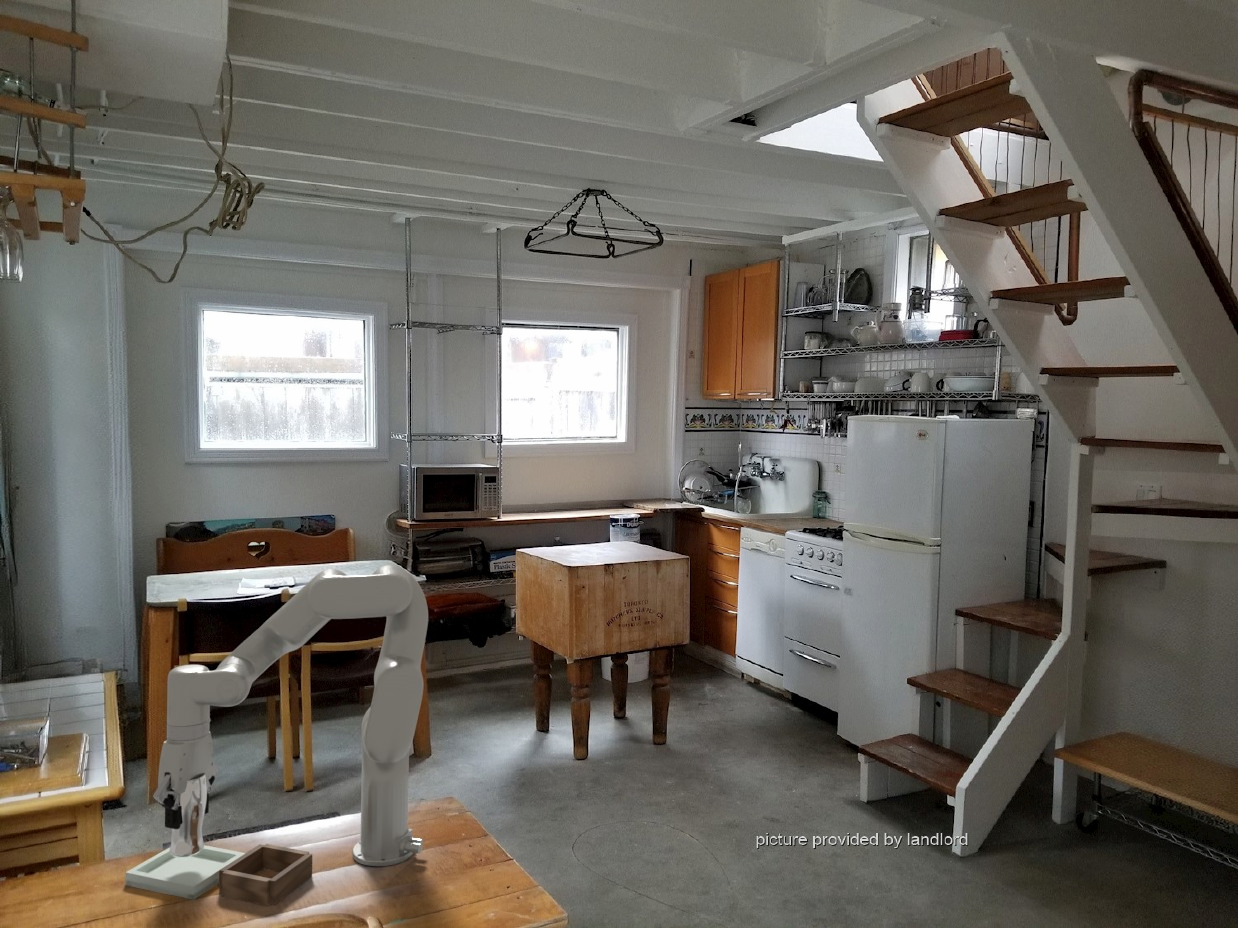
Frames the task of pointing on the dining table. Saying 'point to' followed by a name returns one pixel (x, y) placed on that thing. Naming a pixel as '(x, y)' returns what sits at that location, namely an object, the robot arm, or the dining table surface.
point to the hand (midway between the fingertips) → (187, 819)
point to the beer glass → (190, 819)
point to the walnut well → (262, 890)
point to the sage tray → (181, 872)
